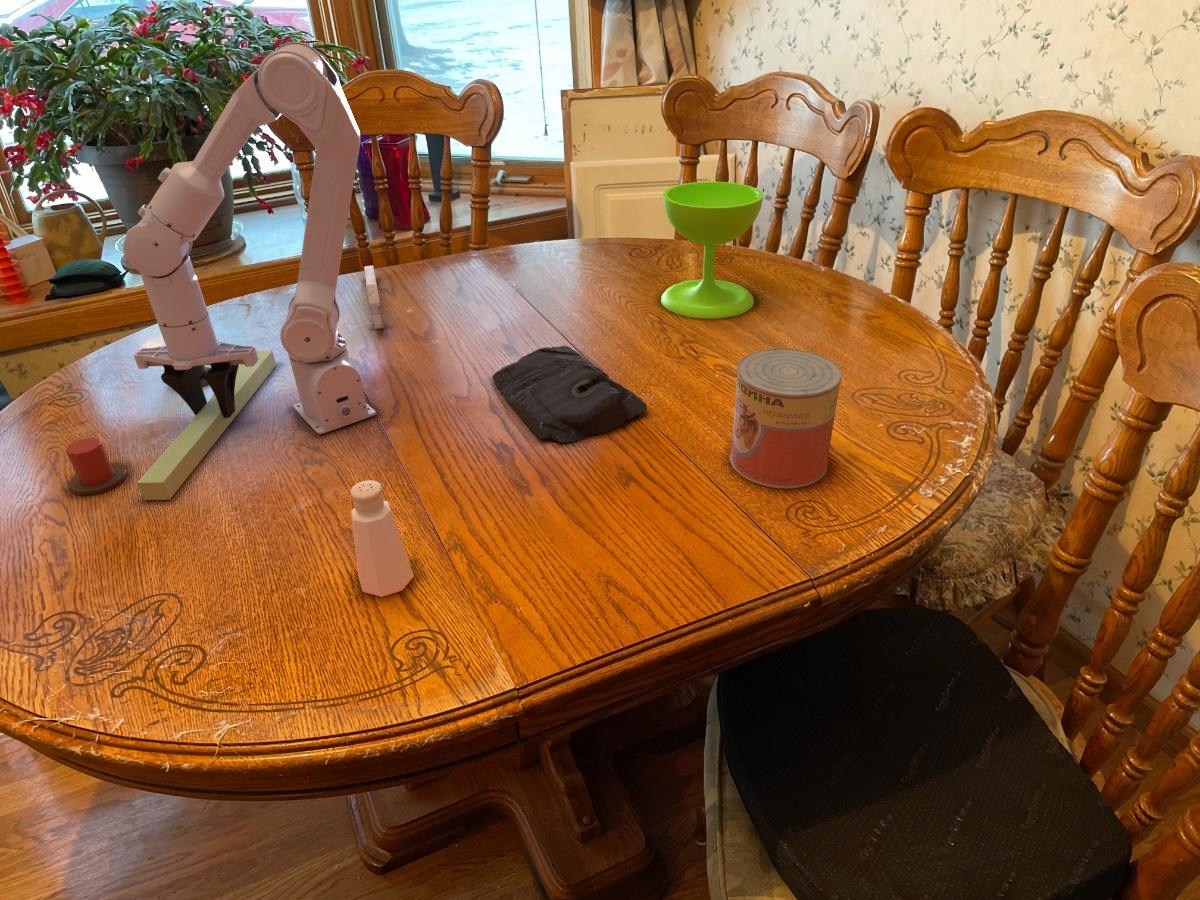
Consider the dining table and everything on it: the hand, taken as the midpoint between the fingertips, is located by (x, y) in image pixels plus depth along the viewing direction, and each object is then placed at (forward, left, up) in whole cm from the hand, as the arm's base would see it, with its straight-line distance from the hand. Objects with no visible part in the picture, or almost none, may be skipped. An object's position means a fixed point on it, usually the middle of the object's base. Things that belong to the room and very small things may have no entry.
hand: (216, 414), depth 102 cm
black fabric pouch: (-24, -39, -2) cm, 46 cm away
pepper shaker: (-42, -4, -2) cm, 43 cm away
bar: (0, 0, -1) cm, 1 cm away
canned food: (-53, -49, -2) cm, 72 cm away
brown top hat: (+16, -1, -2) cm, 16 cm away
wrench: (+24, -33, -2) cm, 41 cm away
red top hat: (-4, +15, -2) cm, 16 cm away
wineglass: (-12, -78, -2) cm, 79 cm away
